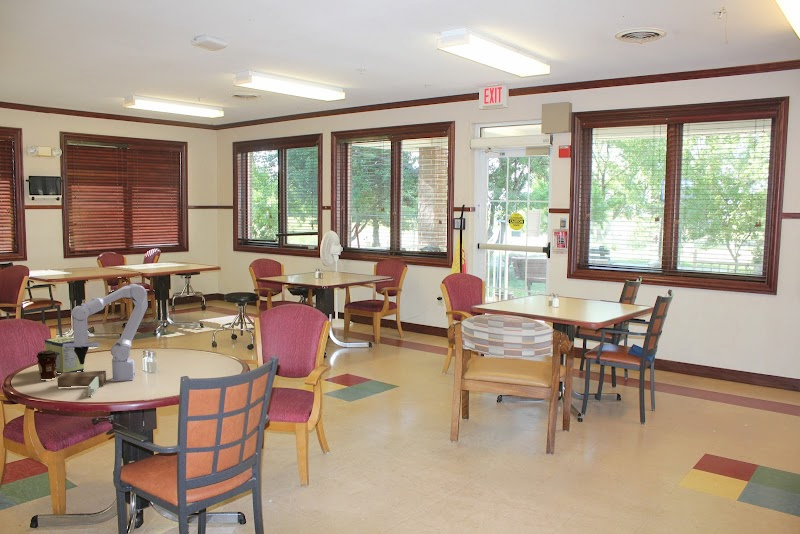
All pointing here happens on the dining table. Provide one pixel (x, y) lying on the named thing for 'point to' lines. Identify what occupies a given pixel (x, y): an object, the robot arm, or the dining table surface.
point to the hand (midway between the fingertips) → (82, 363)
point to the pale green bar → (93, 386)
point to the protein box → (64, 355)
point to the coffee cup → (47, 364)
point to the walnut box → (81, 378)
